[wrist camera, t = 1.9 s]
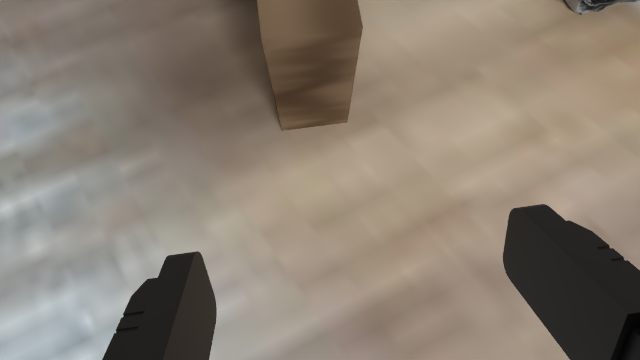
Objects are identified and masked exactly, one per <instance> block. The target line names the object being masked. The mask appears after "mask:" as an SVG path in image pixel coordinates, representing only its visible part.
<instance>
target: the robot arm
mask: <svg viewBox="0 0 640 360" xmlns="http://www.w3.org/2000/svg"><path fill="white" fill-rule="evenodd" d="M503 263H504V268H505V271H506V273H507V276H508V277H509V279H510V280H511V282H512V283H513V284H514V286H515V287H516V288H517V290H518V291H519V292H520V294H521V295H522V296H523V298H524V299H525V300H526V302H527V303H528V304H529V306H530V307H531V308H532V310H533V311H534V312H535V314H536V315H537V316H538V318H539V319H540V320H541V322H542V323H543V324H544V326H545V327H546V328H547V329H548V331H549V332H550V333H551V335H552V336H553V337H554V339H555V340H556V341H557V343H558V344H559V345H560V347H561V348H562V349H563V351H564V352H565V353H566V355H567V356H568V357H569V359H570V360H640V270H638V269H637V268H636V267H635V266H634V265H632V264H631V263H630V262H629V261H628V260H627V261H625V260H624V257H623V256H621V255H620V254H619V253H618V252H617V251H615V250H614V249H613V248H612V249H610V247H609V245H608V244H607V243H606V242H604V241H603V240H602V239H601V238H600V237H598V236H597V235H596V234H595V233H593V232H592V231H590V230H588V229H586V228H584V227H582V226H580V225H578V224H576V223H574V222H572V221H565V220H564V219H563V218H562V217H561V216H559V215H558V214H557V213H556V212H555V211H554V210H553V209H551V208H550V207H549V206H547V205H544V204H541V205H534V206H527V207H520V208H514V209H512V210H511V212H510V214H509V219H508V226H507V233H506V239H505V246H504V252H503ZM123 315H124V317H123V318H121V320H120V322H119V325H118V327H117V329H116V333H115V334H114V335H113V338H112V340H111V342H110V344H109V346H108V348H107V351H106V353H105V355H104V357H103V359H102V360H209V356H210V351H211V345H212V340H213V334H214V329H215V323H216V301H215V296H214V292H213V289H212V286H211V283H210V280H209V277H208V273H207V270H206V267H205V264H204V261H203V258H202V255H201V254H200V252H191V253H183V254H176V255H169V256H167V257H166V259H165V261H164V264H163V266H162V269H161V271H160V274H159V276H158V278H152V279H147V280H146V281H145V282H144V283H143V284H142V285H141V286H140V288H139V289H138V290H137V291H136V292H135V293H134V294H133V295H132V296H131V298H130V301H129V303H128V305H127V307H126V309H125V311H124V314H123Z"/></svg>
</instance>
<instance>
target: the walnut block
mask: <svg viewBox="0 0 640 360" xmlns="http://www.w3.org/2000/svg"><path fill="white" fill-rule="evenodd" d="M257 5H258V14H259V23H260V32H261V40H262V44H263V49H264V53H265V58H266V62H267V67H268V71H269V75H270V80H271V84H272V89H273V93H274V98H275V102H276V106H277V111H278V115H279V120H280V124H281V129H282V131H283V130H291V129H298V128H306V127H314V126H322V125H330V124H338V123H346V122H347V121H348V115H349V108H350V102H351V96H352V90H353V84H354V77H355V71H356V65H357V59H358V53H359V47H360V40H361V34H362V28H363V26H362V21H361V16H360V11H359V6H358V1H357V0H257Z"/></svg>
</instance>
